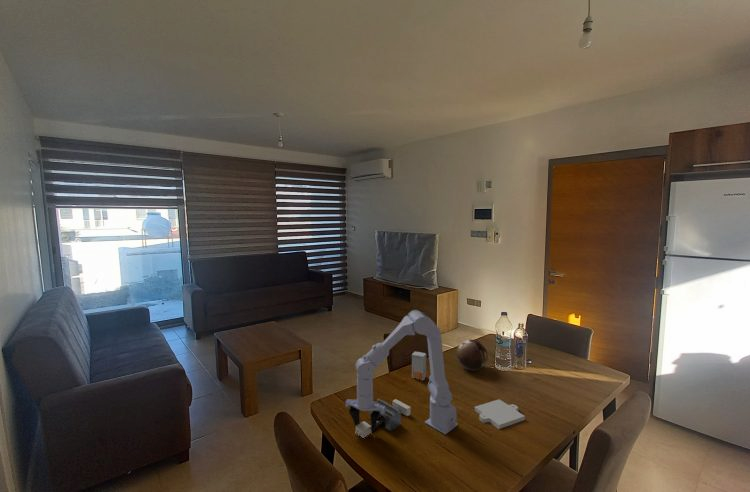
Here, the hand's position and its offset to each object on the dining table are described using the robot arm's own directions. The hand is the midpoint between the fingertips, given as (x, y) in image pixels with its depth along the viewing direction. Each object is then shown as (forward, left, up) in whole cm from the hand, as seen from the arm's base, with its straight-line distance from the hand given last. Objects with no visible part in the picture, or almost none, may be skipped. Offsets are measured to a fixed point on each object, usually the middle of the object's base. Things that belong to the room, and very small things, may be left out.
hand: (365, 428), depth 119 cm
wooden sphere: (0, -72, -2) cm, 72 cm away
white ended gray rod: (0, -8, -2) cm, 8 cm away
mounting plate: (-28, -45, -3) cm, 53 cm away
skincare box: (+13, -46, -2) cm, 48 cm away
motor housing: (0, -10, -2) cm, 10 cm away
